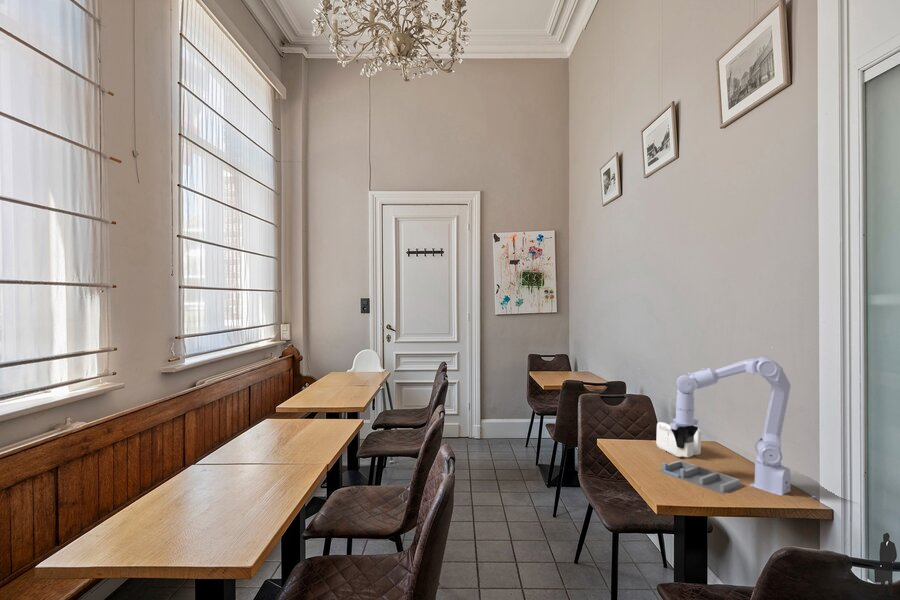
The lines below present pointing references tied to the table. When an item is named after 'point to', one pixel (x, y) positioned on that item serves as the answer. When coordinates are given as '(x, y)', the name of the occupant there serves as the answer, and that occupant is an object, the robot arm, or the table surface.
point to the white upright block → (686, 447)
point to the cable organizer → (668, 441)
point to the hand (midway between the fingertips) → (683, 446)
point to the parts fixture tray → (701, 476)
